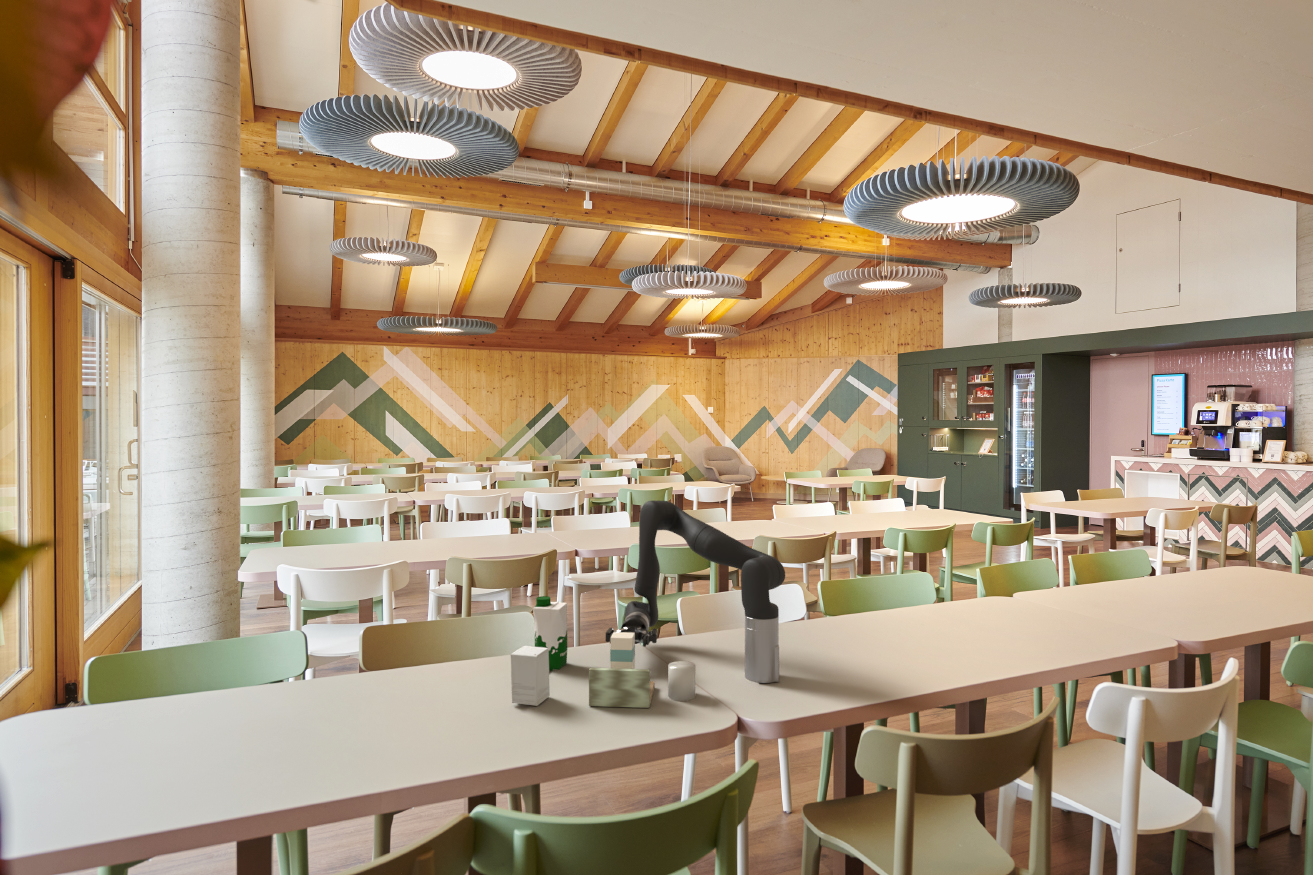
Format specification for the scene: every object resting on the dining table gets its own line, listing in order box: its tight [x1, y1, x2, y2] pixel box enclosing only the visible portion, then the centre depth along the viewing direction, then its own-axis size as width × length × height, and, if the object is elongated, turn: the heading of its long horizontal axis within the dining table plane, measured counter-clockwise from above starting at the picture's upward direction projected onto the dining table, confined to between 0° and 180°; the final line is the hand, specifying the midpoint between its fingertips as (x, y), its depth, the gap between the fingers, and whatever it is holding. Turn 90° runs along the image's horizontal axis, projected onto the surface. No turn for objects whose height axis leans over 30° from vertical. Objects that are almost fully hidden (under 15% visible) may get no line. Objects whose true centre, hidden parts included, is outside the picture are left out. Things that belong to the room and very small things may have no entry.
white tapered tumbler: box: [667, 660, 697, 702], centre depth 199 cm, size 7×7×8 cm
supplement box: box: [510, 645, 551, 707], centre depth 196 cm, size 7×7×13 cm
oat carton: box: [609, 632, 636, 669], centre depth 199 cm, size 6×6×14 cm
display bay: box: [588, 667, 656, 709], centre depth 198 cm, size 15×14×9 cm
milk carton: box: [532, 595, 568, 672], centre depth 223 cm, size 9×9×20 cm
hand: (628, 642), depth 210 cm, fingers open, 8 cm apart
